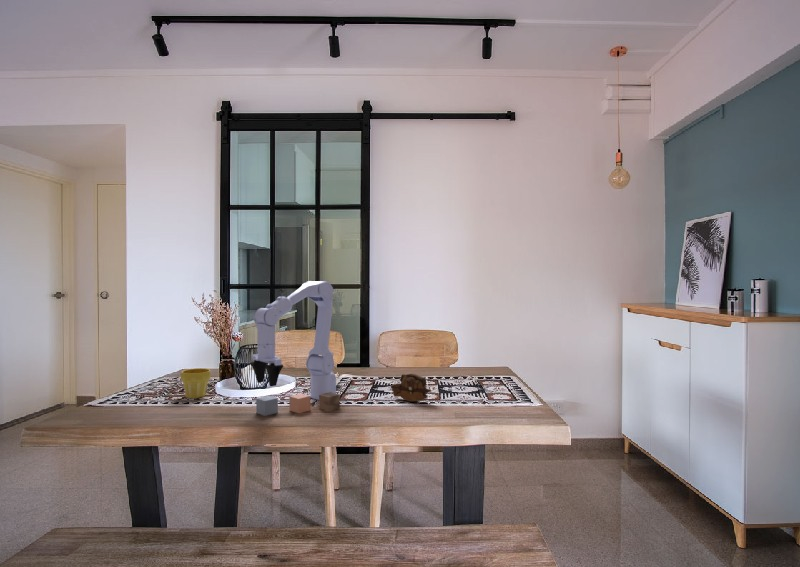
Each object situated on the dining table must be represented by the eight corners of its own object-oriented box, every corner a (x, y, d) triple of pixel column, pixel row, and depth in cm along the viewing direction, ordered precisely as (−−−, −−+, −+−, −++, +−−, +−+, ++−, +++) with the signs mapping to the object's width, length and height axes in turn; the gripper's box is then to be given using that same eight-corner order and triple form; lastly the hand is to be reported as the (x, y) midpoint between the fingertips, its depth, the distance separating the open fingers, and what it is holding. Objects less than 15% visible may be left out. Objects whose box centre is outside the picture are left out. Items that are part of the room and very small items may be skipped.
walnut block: (330, 406, 162) (330, 392, 162) (339, 408, 158) (339, 394, 158) (319, 409, 158) (319, 394, 158) (328, 411, 155) (328, 397, 154)
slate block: (269, 409, 157) (269, 395, 157) (277, 412, 153) (277, 398, 153) (256, 413, 153) (256, 398, 153) (264, 416, 150) (264, 401, 150)
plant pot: (215, 393, 179) (215, 368, 179) (201, 400, 169) (201, 373, 168) (190, 392, 180) (190, 367, 180) (175, 399, 170) (175, 373, 169)
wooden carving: (388, 399, 170) (388, 373, 169) (394, 397, 174) (394, 370, 174) (428, 405, 162) (428, 377, 162) (433, 402, 166) (433, 375, 166)
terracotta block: (301, 407, 160) (301, 393, 159) (310, 410, 156) (310, 395, 156) (289, 410, 156) (289, 396, 156) (298, 413, 152) (298, 398, 152)
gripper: (244, 343, 155) (244, 382, 155) (267, 347, 146) (268, 389, 146) (262, 340, 160) (262, 379, 161) (286, 344, 151) (286, 385, 151)
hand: (266, 384), depth 154 cm, fingers open, 7 cm apart
